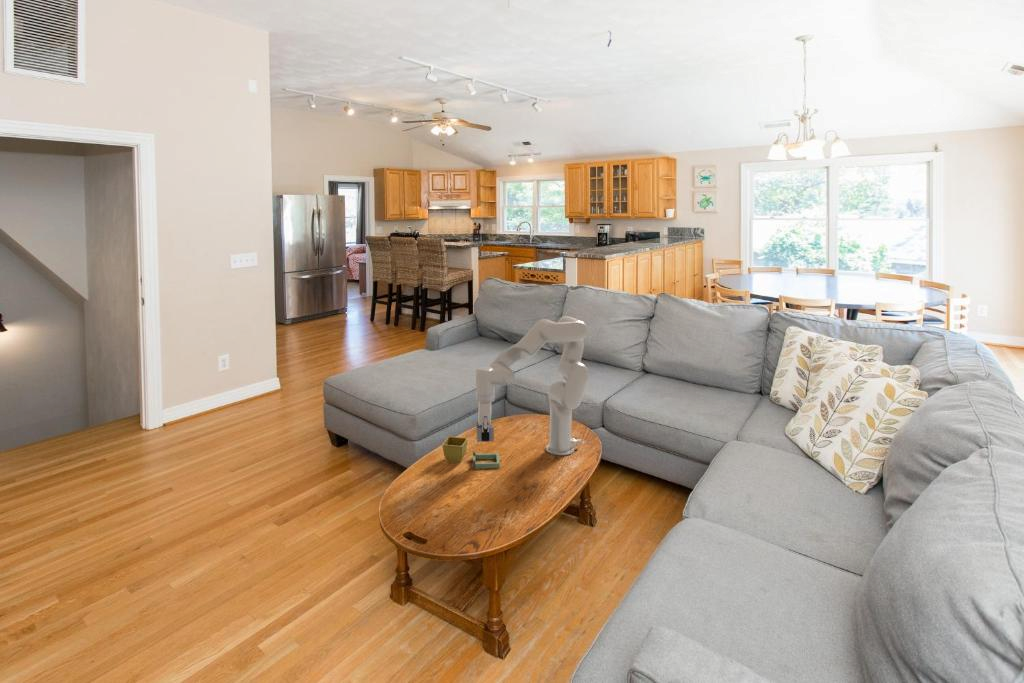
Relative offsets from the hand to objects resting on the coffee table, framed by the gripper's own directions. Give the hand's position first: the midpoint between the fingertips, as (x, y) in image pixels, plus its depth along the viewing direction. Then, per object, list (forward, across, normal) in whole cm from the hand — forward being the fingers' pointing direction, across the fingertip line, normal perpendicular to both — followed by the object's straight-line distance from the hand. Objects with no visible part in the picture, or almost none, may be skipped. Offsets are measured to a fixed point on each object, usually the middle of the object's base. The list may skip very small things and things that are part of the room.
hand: (485, 437), depth 238 cm
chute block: (+1, 0, 0) cm, 1 cm away
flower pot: (+12, -3, -13) cm, 18 cm away
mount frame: (+11, 0, 0) cm, 11 cm away
